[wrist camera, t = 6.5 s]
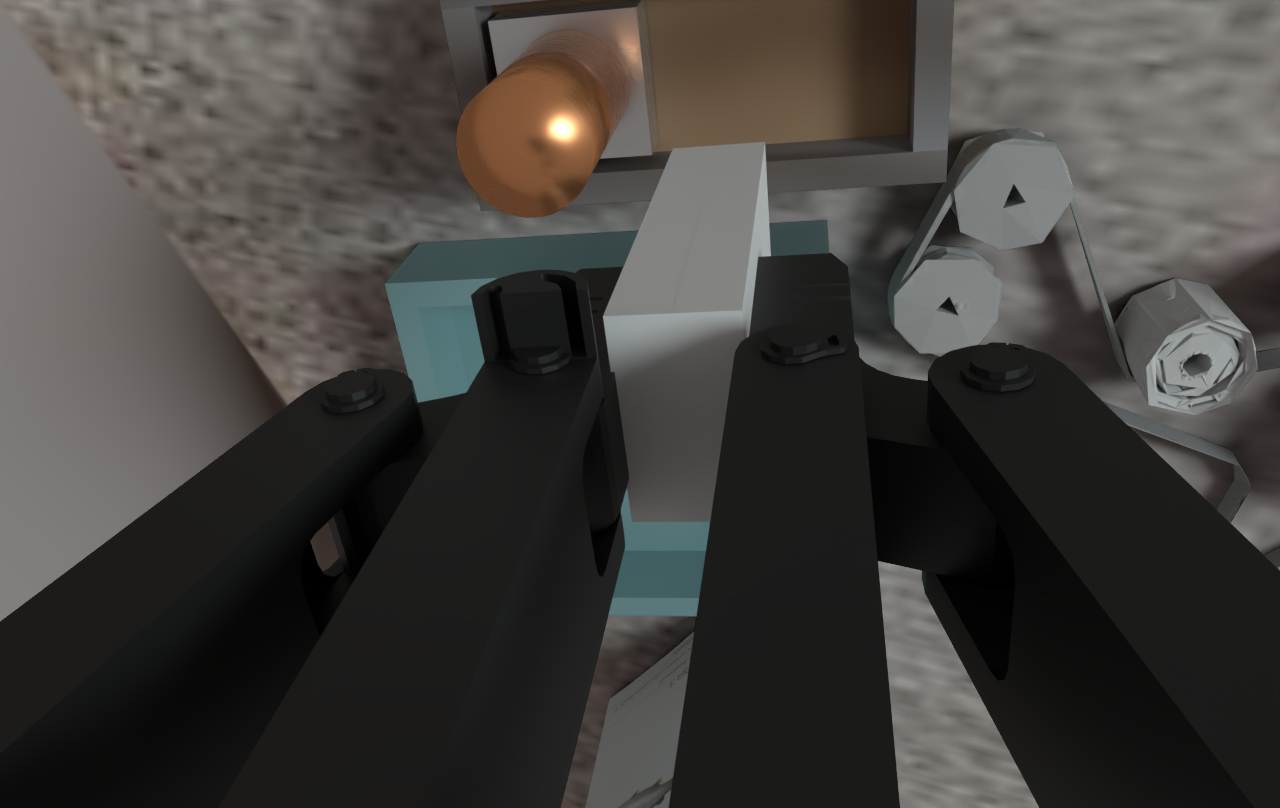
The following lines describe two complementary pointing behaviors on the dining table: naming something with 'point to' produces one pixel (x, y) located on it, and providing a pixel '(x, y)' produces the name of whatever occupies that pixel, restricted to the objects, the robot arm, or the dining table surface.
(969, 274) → the pulley system
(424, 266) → the tray
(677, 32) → the base
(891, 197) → the dining table surface
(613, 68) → the copper rounded cylinder
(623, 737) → the supplement box
